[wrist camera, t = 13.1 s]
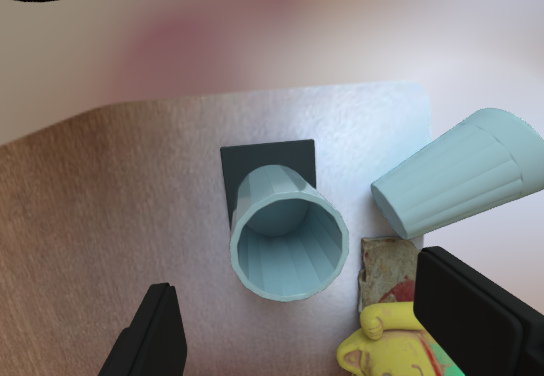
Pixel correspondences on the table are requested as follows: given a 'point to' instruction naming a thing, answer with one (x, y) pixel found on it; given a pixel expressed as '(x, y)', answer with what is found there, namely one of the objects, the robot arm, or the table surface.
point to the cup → (463, 173)
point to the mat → (265, 163)
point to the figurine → (393, 345)
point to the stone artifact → (387, 271)
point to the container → (285, 236)
